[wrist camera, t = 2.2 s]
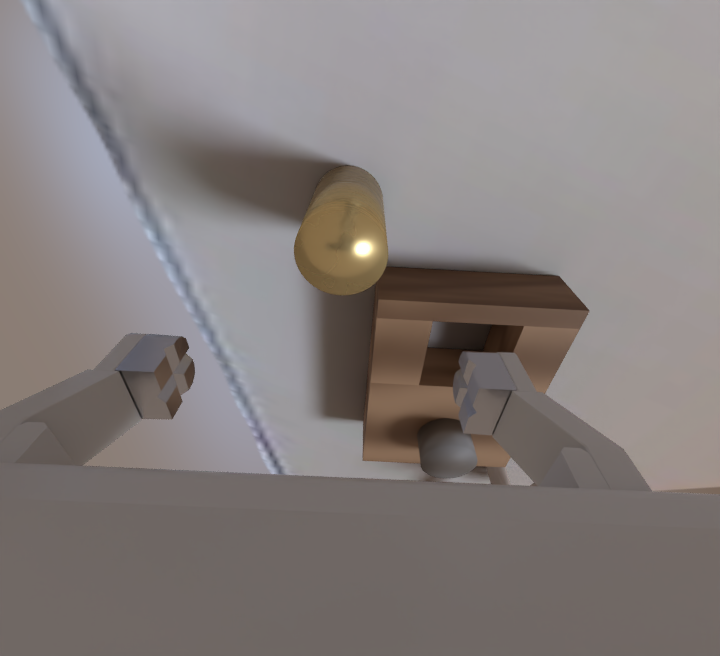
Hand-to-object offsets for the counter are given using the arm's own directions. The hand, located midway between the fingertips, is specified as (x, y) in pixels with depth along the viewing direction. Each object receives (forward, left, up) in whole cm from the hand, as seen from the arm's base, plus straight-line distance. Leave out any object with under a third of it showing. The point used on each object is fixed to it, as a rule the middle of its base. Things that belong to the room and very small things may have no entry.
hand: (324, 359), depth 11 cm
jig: (+11, +8, -13) cm, 19 cm away
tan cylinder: (-1, 0, -13) cm, 13 cm away
